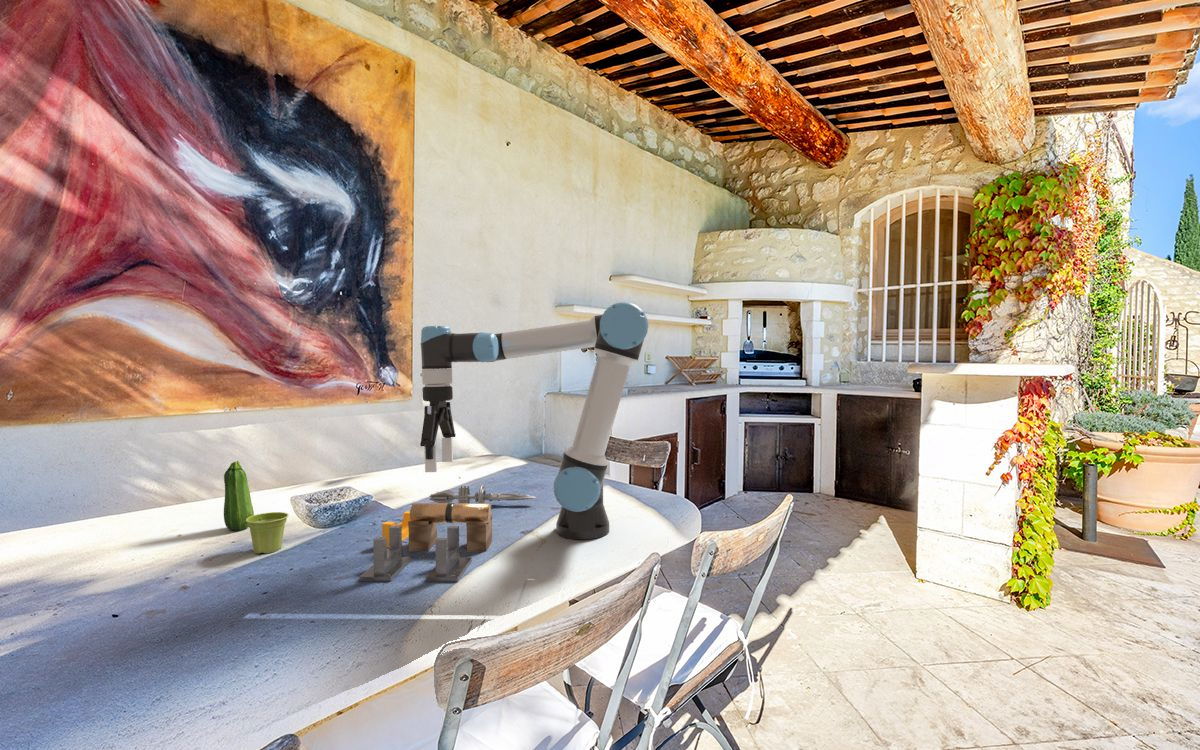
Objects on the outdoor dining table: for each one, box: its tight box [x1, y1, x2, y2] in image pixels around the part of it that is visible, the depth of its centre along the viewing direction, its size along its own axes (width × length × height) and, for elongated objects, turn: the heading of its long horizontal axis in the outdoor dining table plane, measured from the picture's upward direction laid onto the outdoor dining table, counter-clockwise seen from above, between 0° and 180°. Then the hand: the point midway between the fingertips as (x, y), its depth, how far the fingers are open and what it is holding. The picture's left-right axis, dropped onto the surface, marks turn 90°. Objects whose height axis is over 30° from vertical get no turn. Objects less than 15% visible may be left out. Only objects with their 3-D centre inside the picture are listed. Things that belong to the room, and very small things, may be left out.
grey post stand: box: [358, 525, 473, 583], centre depth 124 cm, size 22×12×9 cm, turn 89°
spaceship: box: [428, 484, 537, 503], centre depth 176 cm, size 8×35×8 cm, turn 90°
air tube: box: [409, 502, 492, 524], centre depth 140 cm, size 20×5×5 cm, turn 89°
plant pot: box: [246, 511, 289, 554], centre depth 138 cm, size 9×9×9 cm
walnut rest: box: [408, 513, 493, 552], centre depth 140 cm, size 20×8×8 cm, turn 89°
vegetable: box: [223, 460, 255, 532], centre depth 154 cm, size 7×7×20 cm
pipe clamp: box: [381, 510, 411, 548], centre depth 146 cm, size 12×4×6 cm, turn 169°
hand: (439, 466), depth 139 cm, fingers open, 13 cm apart
